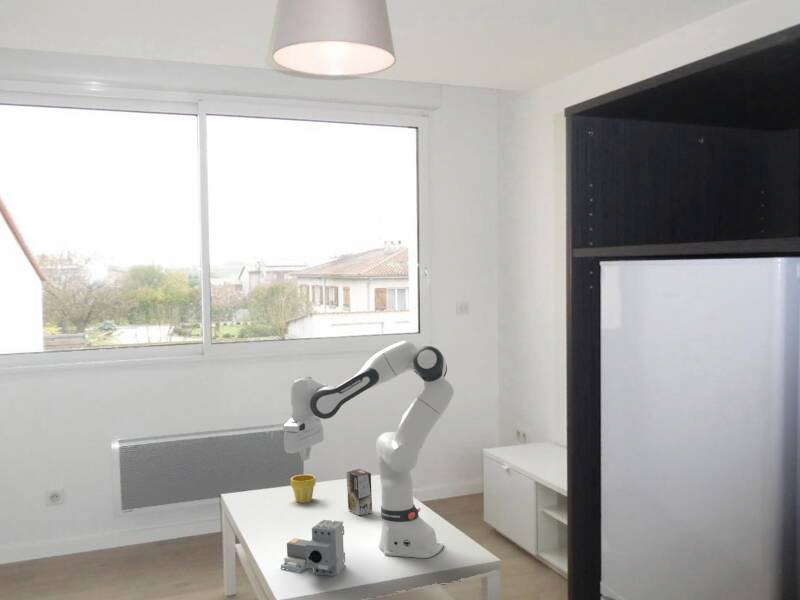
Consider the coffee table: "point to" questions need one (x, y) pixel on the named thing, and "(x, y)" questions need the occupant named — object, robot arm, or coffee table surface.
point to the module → (297, 548)
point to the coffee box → (359, 491)
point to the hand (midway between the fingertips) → (305, 459)
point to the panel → (294, 564)
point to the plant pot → (303, 487)
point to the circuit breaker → (326, 548)
